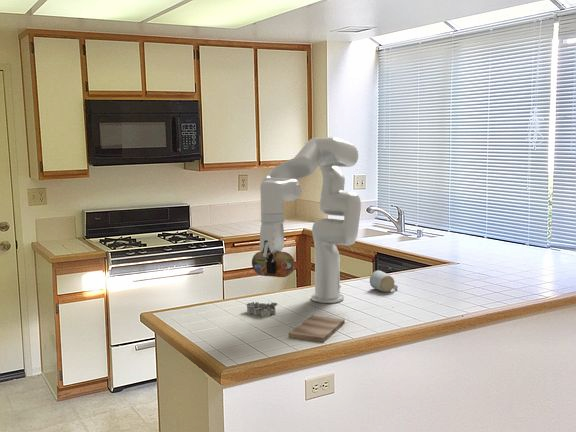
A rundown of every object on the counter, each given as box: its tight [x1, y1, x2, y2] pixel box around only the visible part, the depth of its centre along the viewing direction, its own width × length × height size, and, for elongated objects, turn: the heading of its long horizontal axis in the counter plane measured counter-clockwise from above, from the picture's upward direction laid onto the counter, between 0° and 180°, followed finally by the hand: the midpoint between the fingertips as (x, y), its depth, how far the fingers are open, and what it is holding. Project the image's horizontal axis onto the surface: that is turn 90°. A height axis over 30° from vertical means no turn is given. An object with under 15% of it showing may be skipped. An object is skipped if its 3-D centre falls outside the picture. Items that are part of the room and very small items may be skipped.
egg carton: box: [245, 301, 278, 318], centre depth 230 cm, size 11×8×4 cm
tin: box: [251, 251, 296, 278], centre depth 212 cm, size 15×3×8 cm, turn 66°
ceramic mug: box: [369, 270, 399, 293], centre depth 259 cm, size 11×8×8 cm
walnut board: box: [288, 314, 346, 343], centre depth 210 cm, size 20×12×2 cm, turn 156°
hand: (273, 271), depth 212 cm, fingers closed on tin, 2 cm apart
